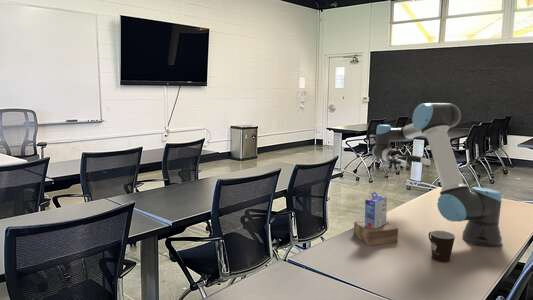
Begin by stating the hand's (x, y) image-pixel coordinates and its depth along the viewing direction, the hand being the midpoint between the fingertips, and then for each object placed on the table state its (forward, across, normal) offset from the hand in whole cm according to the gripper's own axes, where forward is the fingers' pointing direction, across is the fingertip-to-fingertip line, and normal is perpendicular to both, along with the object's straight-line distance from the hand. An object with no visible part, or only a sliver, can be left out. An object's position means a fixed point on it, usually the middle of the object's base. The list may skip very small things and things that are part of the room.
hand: (418, 163), depth 190 cm
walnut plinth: (+12, +29, -30) cm, 43 cm away
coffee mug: (+37, +15, -30) cm, 50 cm away
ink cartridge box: (+12, +29, -24) cm, 40 cm away
